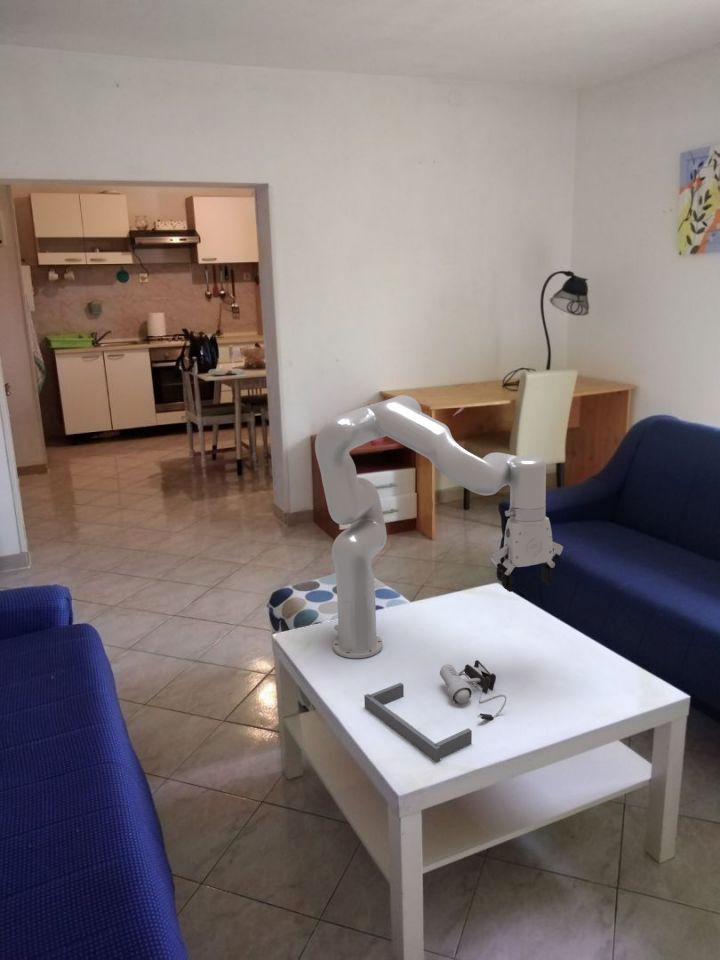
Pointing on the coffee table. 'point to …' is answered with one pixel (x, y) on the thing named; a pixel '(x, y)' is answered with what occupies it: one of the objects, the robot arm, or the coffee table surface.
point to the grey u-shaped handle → (407, 731)
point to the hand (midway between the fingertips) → (527, 586)
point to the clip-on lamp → (462, 690)
